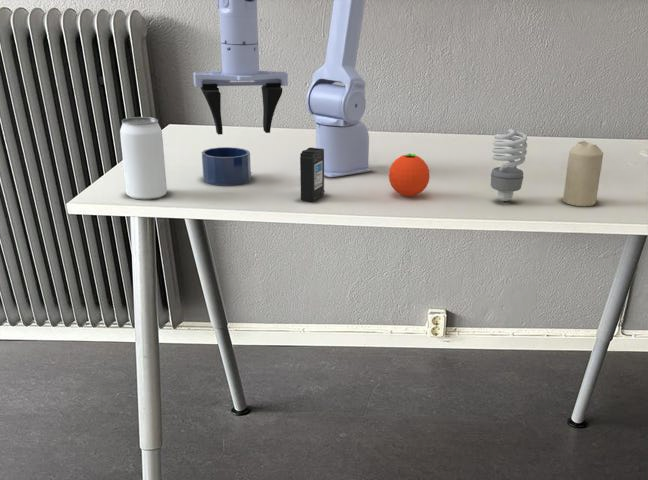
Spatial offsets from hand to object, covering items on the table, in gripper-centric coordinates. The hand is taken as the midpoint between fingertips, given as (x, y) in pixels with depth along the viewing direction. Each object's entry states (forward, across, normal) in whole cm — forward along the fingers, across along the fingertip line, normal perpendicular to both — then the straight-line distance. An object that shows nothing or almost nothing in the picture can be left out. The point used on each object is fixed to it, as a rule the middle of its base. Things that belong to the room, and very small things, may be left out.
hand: (243, 132), depth 135 cm
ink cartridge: (+10, +10, -4) cm, 15 cm away
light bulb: (+10, +41, -13) cm, 45 cm away
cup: (+10, -2, +10) cm, 15 cm away
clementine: (+10, +27, -6) cm, 29 cm away
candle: (+10, +54, -16) cm, 57 cm away
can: (+10, -16, +3) cm, 19 cm away
